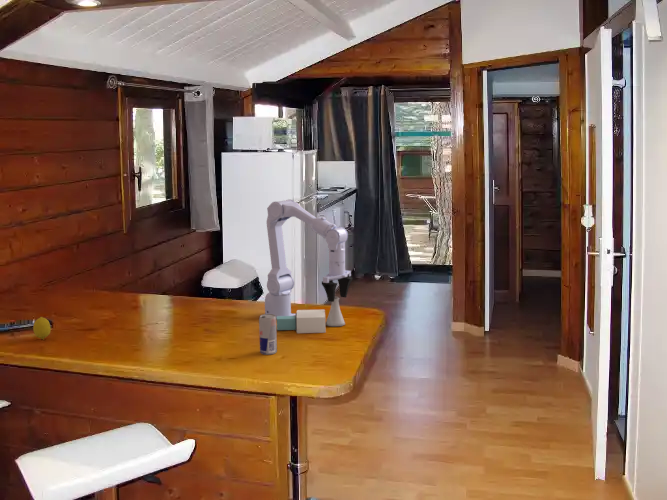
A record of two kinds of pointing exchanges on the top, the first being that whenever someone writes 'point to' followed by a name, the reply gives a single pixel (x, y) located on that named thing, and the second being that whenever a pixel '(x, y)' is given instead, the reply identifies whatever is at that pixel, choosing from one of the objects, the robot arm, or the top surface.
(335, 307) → the flask
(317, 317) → the socket block
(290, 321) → the peg
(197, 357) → the top surface
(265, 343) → the energy drink
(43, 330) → the lemon
